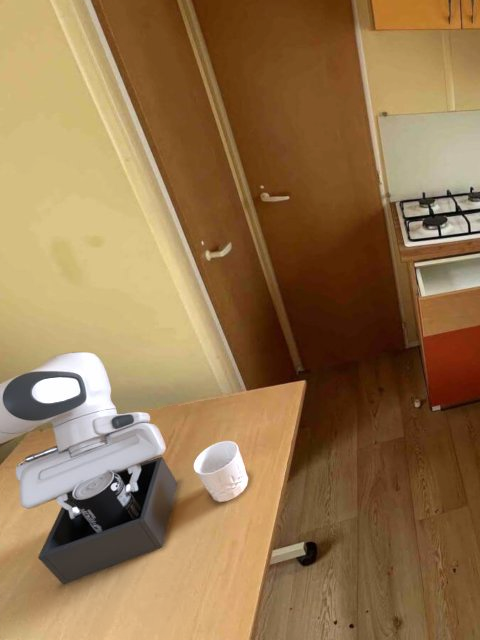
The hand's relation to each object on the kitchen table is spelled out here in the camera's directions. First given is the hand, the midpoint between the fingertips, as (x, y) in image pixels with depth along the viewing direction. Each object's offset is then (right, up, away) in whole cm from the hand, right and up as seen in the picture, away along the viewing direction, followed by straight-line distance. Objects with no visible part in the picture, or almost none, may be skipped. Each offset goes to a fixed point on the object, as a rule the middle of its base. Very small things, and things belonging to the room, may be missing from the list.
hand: (106, 504), depth 79 cm
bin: (0, -8, +5) cm, 9 cm away
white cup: (+15, -4, +12) cm, 20 cm away
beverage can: (0, -6, +4) cm, 7 cm away
